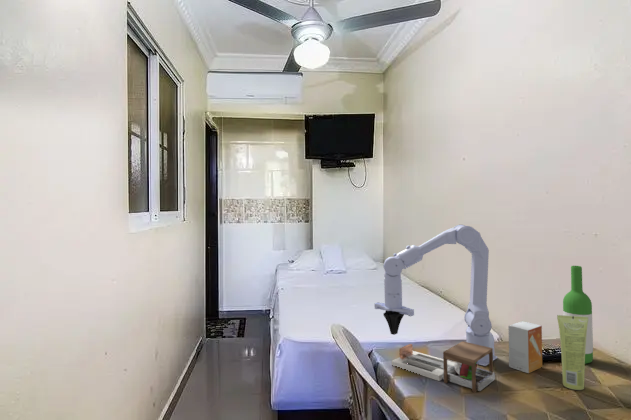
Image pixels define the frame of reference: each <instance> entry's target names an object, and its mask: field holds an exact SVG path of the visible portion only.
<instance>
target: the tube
mask: <svg viewBox="0 0 631 420" xmlns="http://www.w3.org/2000/svg"><path fill="white" fill-rule="evenodd" d="M556 318H557V323H558V329H559V330H558V331H559V340H560V352H561V370H562V372H561V373H562V385H563V386H564V387H565V388H568V389H570V390H573V391H574V390H575V391H582V390H584V389H585V369H586V368H585V366H586V364H585V348H586V334H587V325H588V317H582V316H565V315H563V314H557V316H556Z"/></svg>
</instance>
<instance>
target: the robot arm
mask: <svg viewBox="0 0 631 420" xmlns="http://www.w3.org/2000/svg"><path fill="white" fill-rule="evenodd" d="M457 244H458V245H460V246H463V247H464V249H466V250H467V251H468V252H469V253H470V254H471V260H470V261H471V263H470V264H471V265H470V266H471V267H470V290H469V302H468V304H467V310H466V312H465V314H464V322H465V323H466V325H467V327H466V329H465V340H466V341H465V342H468V343H472V344H477V345H481V346H485V347H489V348H493V362H494V361H496V359H498V356H497V355H495V337H494V335H493V333H492V332H491V331H492V326H493V325H492V321H491V319H490V312H489V308H488V306H487V305H488V303H487V301H488V296H487V295H488V279H489V278H488V277H489V255H490V254H489V253H490V252H489V251H490V250H489V248H488V246H487V244H486V242H485V241H484V239H483V237H482V236H481V233H480V232H479V231H478V230H477V229H475V228H474V227H473V226H470V225H465V224H458V225H455V226H453V227H451V228H447V229H446V230H443V231H441V232H440V233H438V234H437V235H435V236H434V237H431V238H430V239H429V240H427V241H425V242H423V243H422V244H420V245H415V244H412V245H410V244H409V245H406V246H405V249H403V250H401V251H399V252H394V253H393V254H392V255H393V256H389V257H387V258H386V259H384V262H383V264H382V266H383V270H384V274H383V275H384V279H383V280H384V281H383V282H384V283H383V285H384V286H383V287H384V289H383V290H384V302H375V303H374V309H375V310H382V311H385V312H383V317H384V318H385V320H386V322H387V324H388V329H389V332H390V335H397V334H398V333H399V328H400V325H401V323H402V319H403V317H404V316H408V317H414V316H415V309H413V308H409V307H407V306H405V305H403V287H402V285H403V283H402V281H403V280H402V277H401V275H402V271H403V270H406V269H408V268H410V267H412V266H414V265H415V264H417V263H419V262H421V261H423V257H424V255H426V254H428V253H430V252H432V251H434V250H435V249H438V248H439V247H442V246H444V245H457ZM478 363H479V364H478ZM477 364H478V366H482V367H487V366H489V354H487V355H486V356H484V357H483V358H481V359H480V360H478V361H477Z"/></svg>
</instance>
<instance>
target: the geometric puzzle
mask: <svg viewBox="0 0 631 420" xmlns="http://www.w3.org/2000/svg"><path fill="white" fill-rule="evenodd" d="M475 364H476V369H477V368H478V366H479V363H478V364H477V362H475ZM454 365H455V371H456V372H457V373H456V374H458V376H460V377H463V378H466V379H469V380H472V366H469V365H466V364H462V365H461V363H459V362H455V364H454ZM460 367H461V370H460ZM479 368H480V369H482V367H479ZM476 373H477V374H480V373H478V372H476ZM482 375H483V373H482V374H481V376H482ZM481 376H480V377H481ZM477 378H478V376H477V377H476V381H477V380H479V378H478V379H477Z"/></svg>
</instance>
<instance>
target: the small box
mask: <svg viewBox="0 0 631 420" xmlns="http://www.w3.org/2000/svg"><path fill="white" fill-rule="evenodd" d="M542 329H543V326H542V325H540V324H537V323H532V322H528V321H523V320H522V321H519V322H515V323H512V324H509V325H508V329H507V330H508V367H509V368H511V369H514V370H517V371H520V372H523V373H526V374H530V373H532V372H535V371H536V370H540V369H541V367H542V368H543V331H542Z"/></svg>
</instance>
